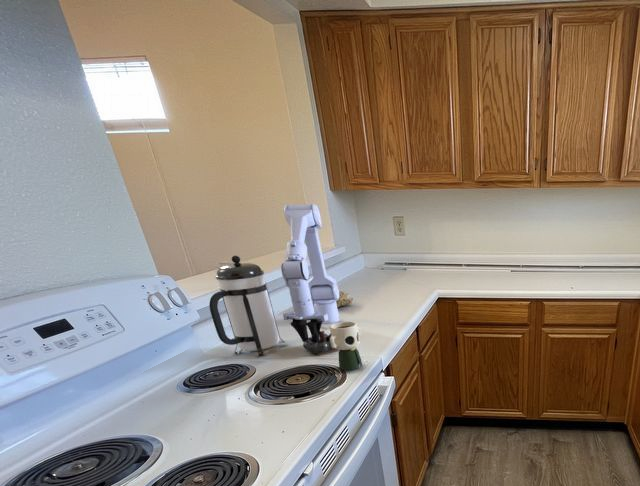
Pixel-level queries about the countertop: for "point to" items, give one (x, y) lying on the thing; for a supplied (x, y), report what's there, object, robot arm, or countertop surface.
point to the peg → (323, 339)
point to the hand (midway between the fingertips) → (311, 341)
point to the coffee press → (245, 307)
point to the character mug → (346, 344)
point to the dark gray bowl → (318, 344)
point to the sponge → (343, 299)
